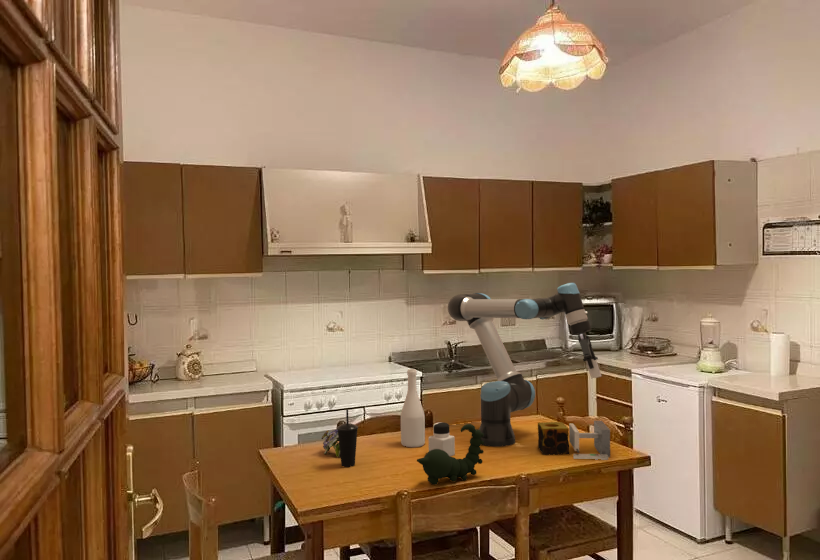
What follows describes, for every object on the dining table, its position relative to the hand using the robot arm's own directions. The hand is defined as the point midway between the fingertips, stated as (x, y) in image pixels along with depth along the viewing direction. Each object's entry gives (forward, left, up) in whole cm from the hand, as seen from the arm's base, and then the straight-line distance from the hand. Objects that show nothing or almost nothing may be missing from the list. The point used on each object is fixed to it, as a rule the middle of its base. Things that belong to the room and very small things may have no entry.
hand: (596, 377), depth 236 cm
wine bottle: (-70, +9, -29) cm, 76 cm away
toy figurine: (-54, -33, -29) cm, 69 cm away
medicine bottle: (-58, -5, -29) cm, 65 cm away
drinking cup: (-91, -18, -29) cm, 97 cm away
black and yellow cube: (-16, +2, -29) cm, 33 cm away
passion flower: (-98, -4, -29) cm, 102 cm away
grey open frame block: (-3, +1, -28) cm, 29 cm away
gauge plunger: (-3, +1, -26) cm, 27 cm away
